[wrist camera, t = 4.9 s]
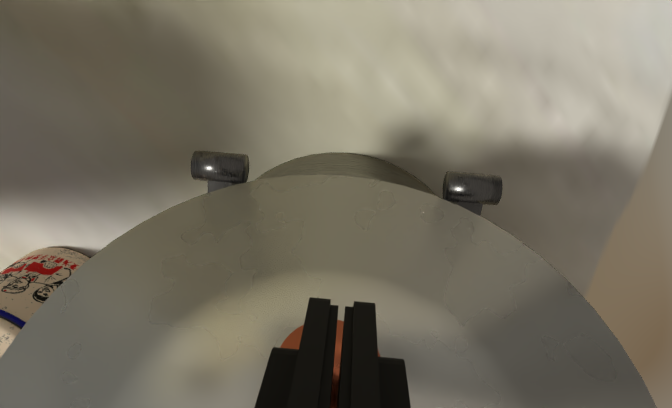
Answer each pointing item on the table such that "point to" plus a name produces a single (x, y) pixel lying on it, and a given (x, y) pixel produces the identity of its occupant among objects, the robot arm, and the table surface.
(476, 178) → the pot
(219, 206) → the lid
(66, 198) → the table surface
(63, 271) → the teacup with lid
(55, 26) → the table surface
